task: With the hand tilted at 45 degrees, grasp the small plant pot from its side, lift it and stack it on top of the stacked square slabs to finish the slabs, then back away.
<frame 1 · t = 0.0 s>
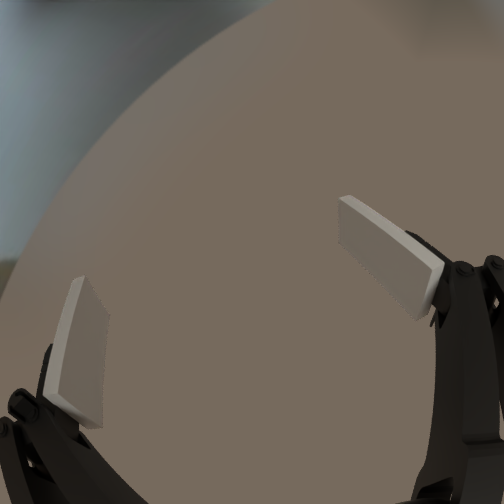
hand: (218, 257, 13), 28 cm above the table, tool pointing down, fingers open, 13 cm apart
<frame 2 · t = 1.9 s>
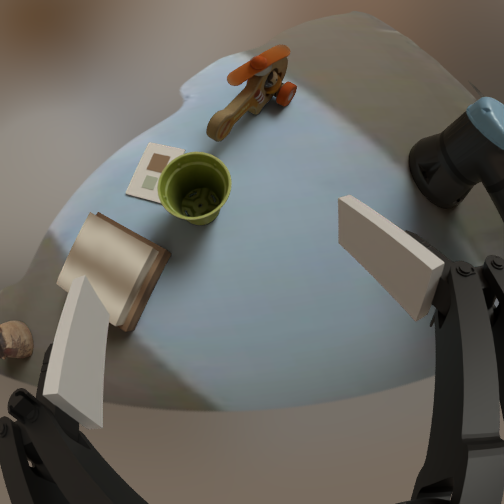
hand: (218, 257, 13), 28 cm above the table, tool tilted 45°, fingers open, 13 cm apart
stacked square slabs: (118, 272, 40), on the table
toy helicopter: (252, 113, 46), on the table
instruction page: (155, 171, 43), on the table
figurine: (22, 339, 36), on the table
plant pot: (201, 206, 42), on the table
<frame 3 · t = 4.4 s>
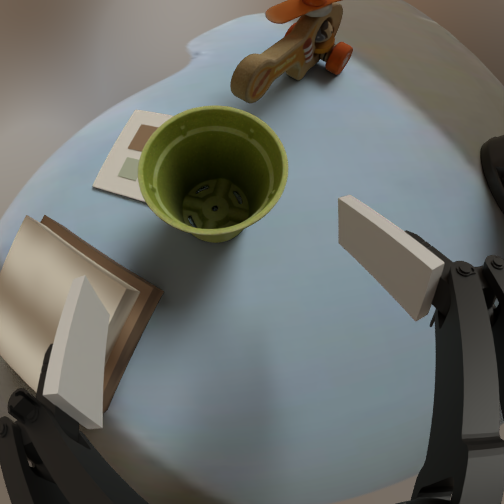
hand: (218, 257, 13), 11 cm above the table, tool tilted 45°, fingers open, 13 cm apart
stacked square slabs: (77, 316, 22), on the table
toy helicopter: (291, 78, 29), on the table
instruction page: (141, 151, 25), on the table
plant pot: (216, 210, 25), on the table
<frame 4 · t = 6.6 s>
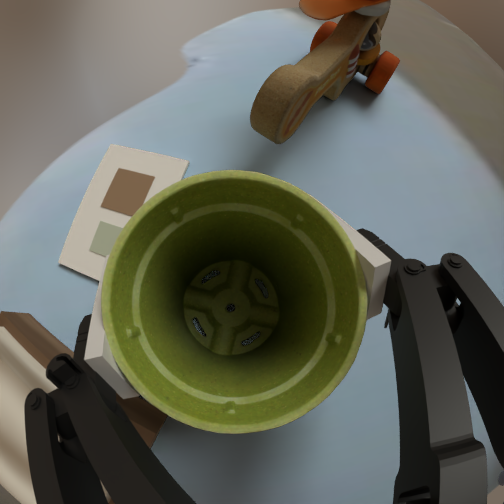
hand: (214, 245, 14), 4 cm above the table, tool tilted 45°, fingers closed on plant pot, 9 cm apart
stacked square slabs: (65, 427, 14), on the table
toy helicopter: (323, 97, 22), on the table
instruction page: (120, 212, 18), on the table
plant pot: (232, 307, 18), on the table, touching gripper
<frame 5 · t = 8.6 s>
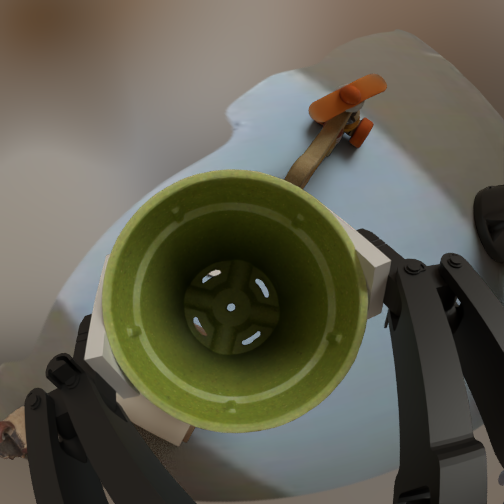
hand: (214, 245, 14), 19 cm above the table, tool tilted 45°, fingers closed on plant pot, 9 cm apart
stacked square slabs: (163, 365, 30), on the table
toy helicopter: (321, 153, 38), on the table
figurine: (38, 425, 26), on the table
plant pot: (232, 306, 18), point 15 cm above the table, touching gripper
when the fingers open (12 cm above the table, at t = 10.8 s): plant pot drops 1 cm, resting on stacked square slabs.
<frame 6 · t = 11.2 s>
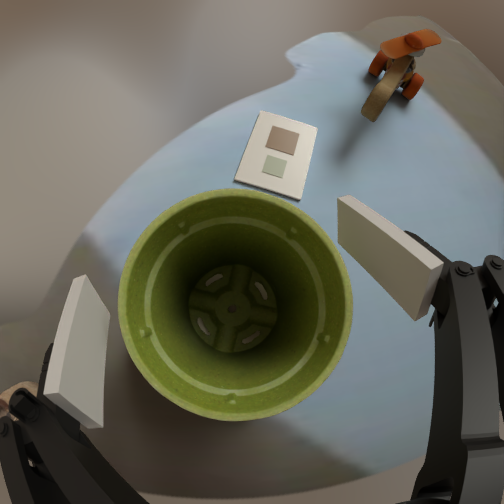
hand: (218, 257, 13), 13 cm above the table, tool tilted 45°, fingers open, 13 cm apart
stacked square slabs: (231, 308, 25), on the table
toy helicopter: (379, 99, 33), on the table
instruction page: (279, 151, 29), on the table
figurine: (41, 408, 21), on the table
plant pot: (233, 307, 19), point 6 cm above the table, touching stacked square slabs
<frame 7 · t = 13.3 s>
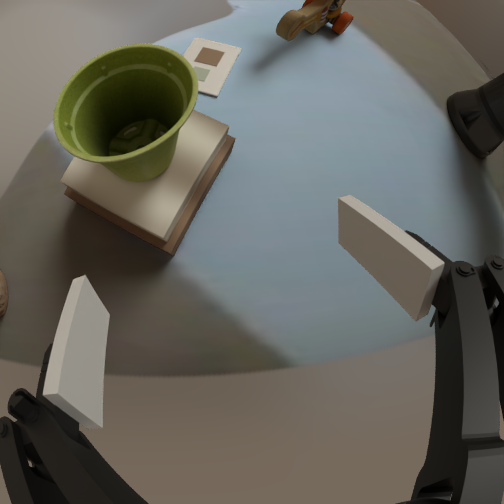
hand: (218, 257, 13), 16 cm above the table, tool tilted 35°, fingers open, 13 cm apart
stacked square slabs: (151, 174, 28), on the table
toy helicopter: (307, 32, 35), on the table
instruction page: (205, 64, 30), on the table
plant pot: (142, 150, 22), point 6 cm above the table, touching stacked square slabs
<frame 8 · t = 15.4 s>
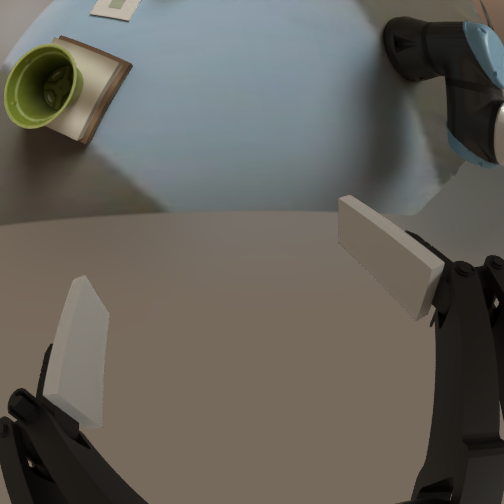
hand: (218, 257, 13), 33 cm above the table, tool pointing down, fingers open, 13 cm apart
stacked square slabs: (77, 88, 29), on the table
plant pot: (64, 87, 24), point 6 cm above the table, touching stacked square slabs
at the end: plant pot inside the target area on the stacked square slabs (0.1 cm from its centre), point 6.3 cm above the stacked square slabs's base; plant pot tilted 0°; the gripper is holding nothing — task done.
